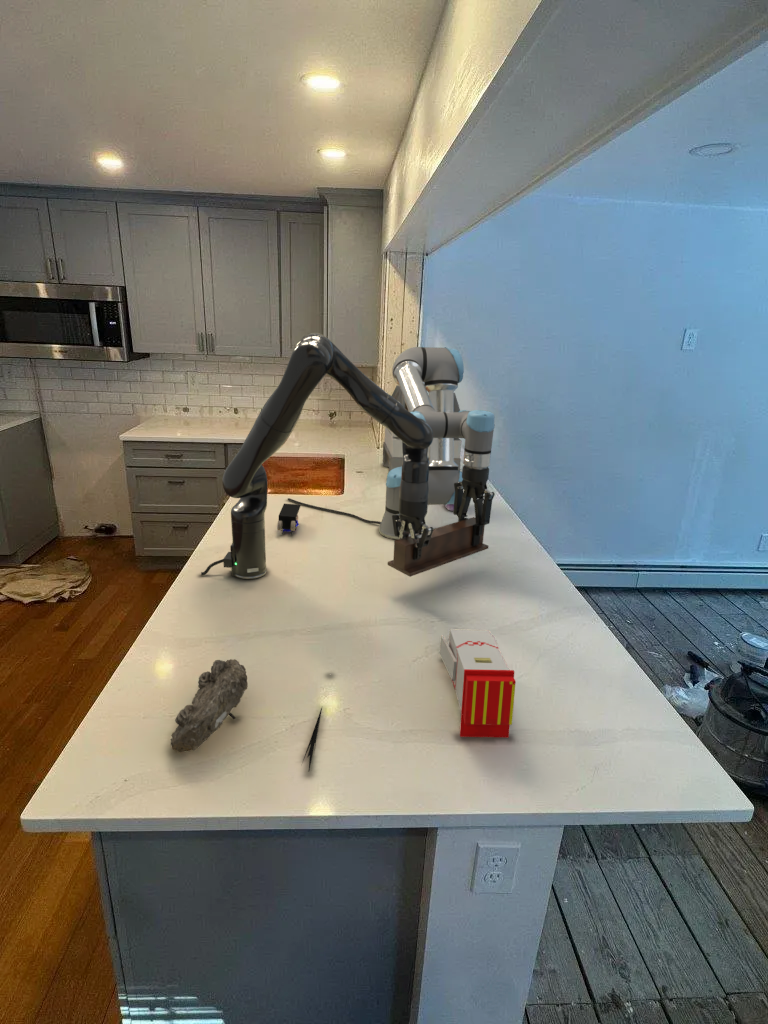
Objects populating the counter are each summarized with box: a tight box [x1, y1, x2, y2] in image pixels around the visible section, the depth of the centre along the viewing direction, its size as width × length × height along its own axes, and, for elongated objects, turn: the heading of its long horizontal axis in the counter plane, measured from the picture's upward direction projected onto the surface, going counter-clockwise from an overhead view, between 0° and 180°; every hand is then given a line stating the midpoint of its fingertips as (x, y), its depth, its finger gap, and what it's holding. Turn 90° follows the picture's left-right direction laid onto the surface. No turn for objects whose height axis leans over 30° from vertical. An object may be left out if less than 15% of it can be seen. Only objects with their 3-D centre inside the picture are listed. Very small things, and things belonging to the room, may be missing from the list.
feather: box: [301, 673, 332, 771], centre depth 108 cm, size 2×28×2 cm
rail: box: [387, 516, 489, 578], centre depth 160 cm, size 32×9×8 cm, turn 131°
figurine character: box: [276, 503, 301, 536], centre depth 198 cm, size 7×8×15 cm
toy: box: [438, 628, 517, 738], centre depth 117 cm, size 12×13×30 cm
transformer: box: [381, 384, 463, 472], centre depth 268 cm, size 34×33×41 cm
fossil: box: [170, 658, 249, 753], centre depth 106 cm, size 22×10×15 cm
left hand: (410, 555), depth 153 cm, fingers closed on rail, 4 cm apart
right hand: (468, 541), depth 169 cm, fingers closed on rail, 4 cm apart
